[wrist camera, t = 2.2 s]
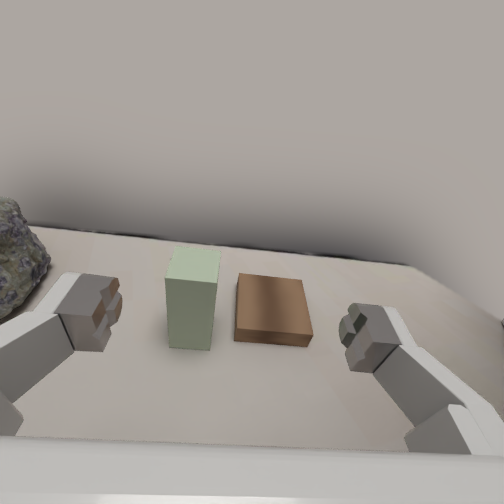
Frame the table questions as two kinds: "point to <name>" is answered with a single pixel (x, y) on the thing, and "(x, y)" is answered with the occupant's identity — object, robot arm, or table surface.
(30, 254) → the mineral rock
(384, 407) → the table surface
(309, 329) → the slab
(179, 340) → the column
